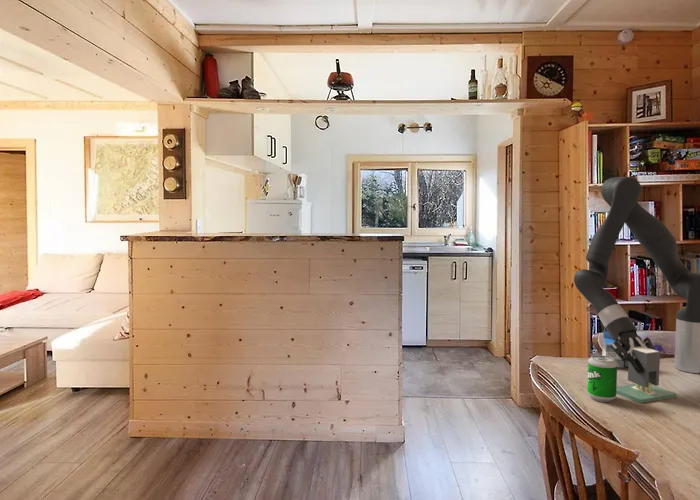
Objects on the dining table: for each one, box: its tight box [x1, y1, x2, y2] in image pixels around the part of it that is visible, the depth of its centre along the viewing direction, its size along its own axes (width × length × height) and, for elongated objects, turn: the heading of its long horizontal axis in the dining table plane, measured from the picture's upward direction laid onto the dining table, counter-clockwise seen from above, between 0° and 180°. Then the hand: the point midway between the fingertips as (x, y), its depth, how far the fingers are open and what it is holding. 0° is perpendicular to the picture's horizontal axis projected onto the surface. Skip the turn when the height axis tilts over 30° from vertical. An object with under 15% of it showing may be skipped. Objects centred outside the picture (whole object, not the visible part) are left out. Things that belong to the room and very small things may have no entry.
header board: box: [616, 382, 678, 404], centre depth 141 cm, size 14×10×4 cm
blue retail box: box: [601, 330, 629, 369], centre depth 166 cm, size 9×4×12 cm, turn 77°
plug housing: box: [627, 347, 661, 387], centre depth 141 cm, size 5×6×10 cm
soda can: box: [586, 354, 618, 403], centre depth 138 cm, size 8×8×12 cm
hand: (649, 371), depth 139 cm, fingers closed on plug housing, 5 cm apart
